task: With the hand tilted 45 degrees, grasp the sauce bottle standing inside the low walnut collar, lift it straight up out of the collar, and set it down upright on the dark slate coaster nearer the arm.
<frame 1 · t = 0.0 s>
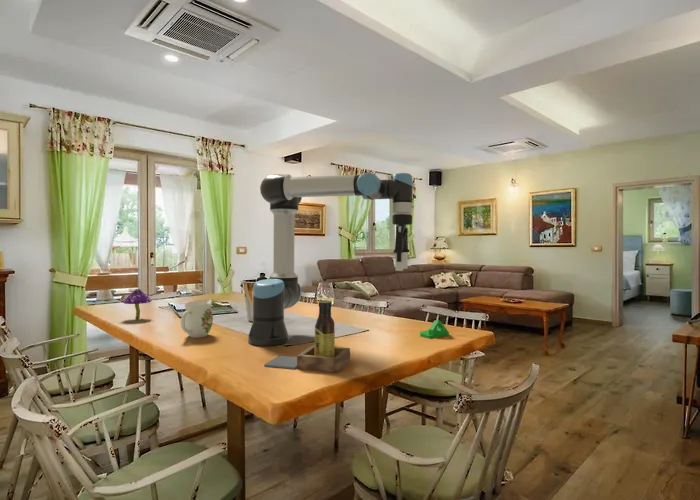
hand: (401, 269, 154), 28 cm above the table, tool pointing down, fingers open, 13 cm apart
bracket: (432, 336, 168), on the table
walnut collar: (324, 364, 126), on the table
pitcher: (196, 336, 162), on the table
slate coaster: (286, 363, 127), on the table
decorative mushroom: (137, 319, 195), on the table
sauce bottle: (324, 365, 126), resting in walnut collar
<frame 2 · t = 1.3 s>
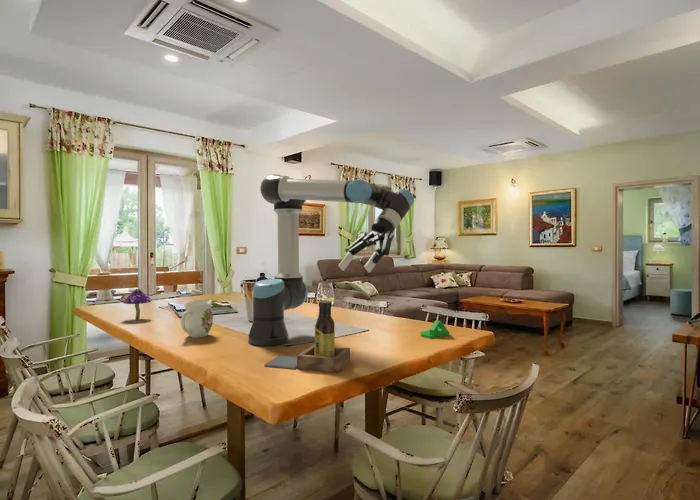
hand: (353, 269, 133), 29 cm above the table, tool tilted 45°, fingers open, 13 cm apart
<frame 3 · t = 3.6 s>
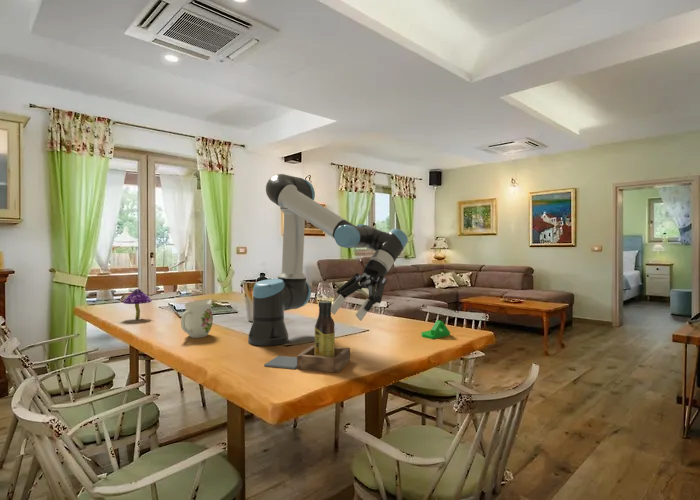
hand: (344, 314, 129), 15 cm above the table, tool tilted 45°, fingers open, 13 cm apart
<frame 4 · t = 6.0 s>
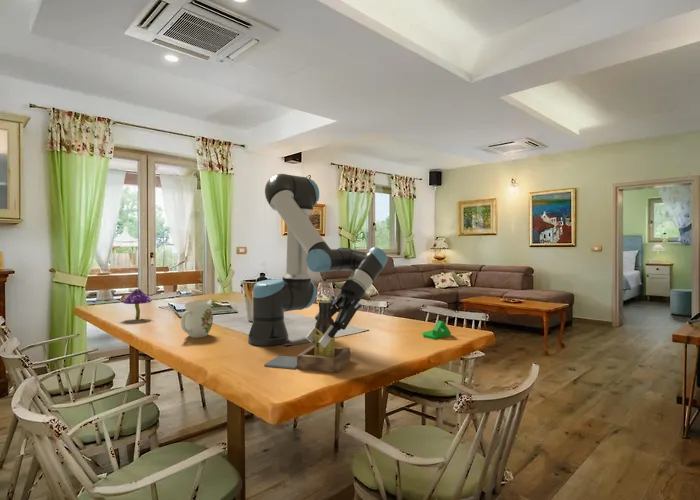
hand: (315, 342, 123), 7 cm above the table, tool tilted 45°, fingers closed on sauce bottle, 6 cm apart
sauce bottle: (324, 365, 126), resting in walnut collar, touching gripper
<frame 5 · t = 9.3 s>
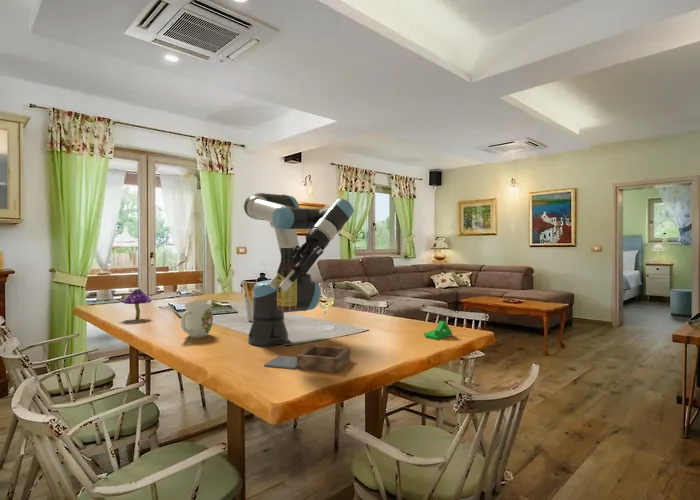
hand: (277, 287, 124), 24 cm above the table, tool tilted 45°, fingers closed on sauce bottle, 6 cm apart
sauce bottle: (287, 310, 127), point 17 cm above the table, touching gripper
when the fingers open (9 cm above the table, at t = 12.4 s): sauce bottle drops 1 cm, resting on slate coaster.
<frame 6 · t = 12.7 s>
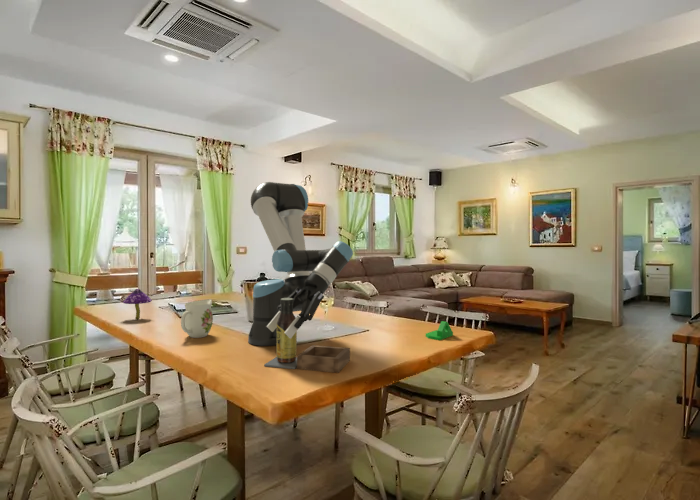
hand: (278, 332, 125), 10 cm above the table, tool tilted 45°, fingers open, 10 cm apart
sauce bottle: (286, 361, 127), resting on slate coaster
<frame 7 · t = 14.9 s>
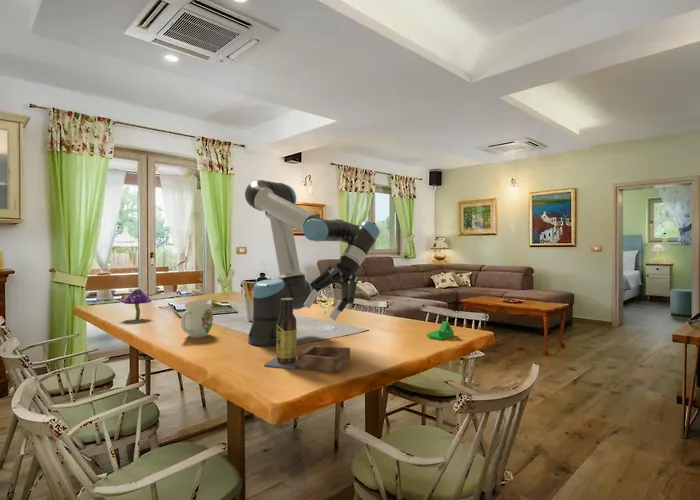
hand: (318, 312, 135), 15 cm above the table, tool tilted 35°, fingers open, 13 cm apart
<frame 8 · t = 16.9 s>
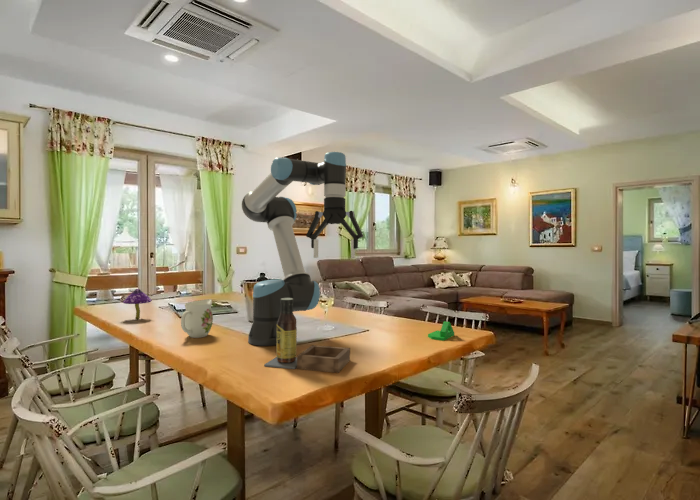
hand: (334, 258, 141), 33 cm above the table, tool pointing down, fingers open, 13 cm apart
at the end: sauce bottle inside the target area on the slate coaster (0.1 cm from its centre), point 0.4 cm above the slate coaster's base; sauce bottle tilted 0°; the gripper is holding nothing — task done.
